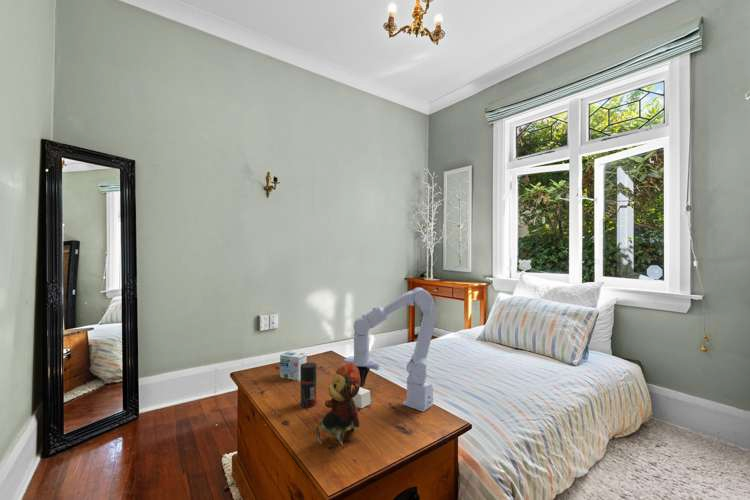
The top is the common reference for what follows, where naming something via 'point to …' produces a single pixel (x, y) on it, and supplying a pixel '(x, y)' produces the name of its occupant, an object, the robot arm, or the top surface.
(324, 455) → the top surface
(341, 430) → the stuffed monkey
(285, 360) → the light bulb box
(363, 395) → the block
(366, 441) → the top surface
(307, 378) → the deodorant
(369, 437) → the top surface
